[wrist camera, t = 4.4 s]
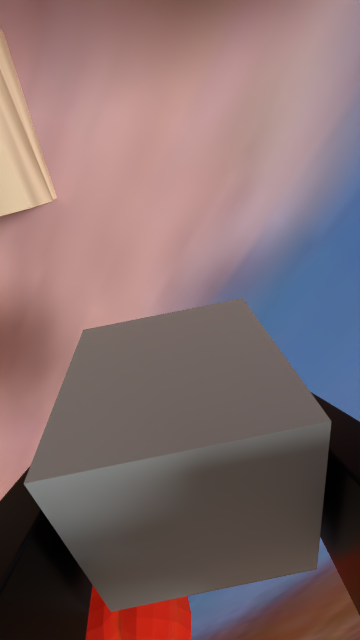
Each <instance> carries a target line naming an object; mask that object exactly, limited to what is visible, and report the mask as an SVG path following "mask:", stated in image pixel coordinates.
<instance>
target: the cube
mask: <svg viewBox="0 0 360 640" xmlns="http://www.w3.org/2000/svg"><path fill="white" fill-rule="evenodd" d="M330 430H331V420H330V419H329V417H328V416H327V414H326V413H325V412H324V410H323V409H322V408H321V406H320V405H319V403H318V402H317V401H316V399H315V398H314V397H313V395H312V394H311V392H310V391H309V390H308V388H307V387H306V385H305V384H304V383H303V381H302V380H301V379H300V377H299V376H298V374H297V373H296V372H295V370H294V369H293V368H292V366H291V365H290V363H289V362H288V361H287V359H286V358H285V356H284V355H283V354H282V352H281V351H280V350H279V348H278V347H277V345H276V344H275V343H274V341H273V340H272V339H271V337H270V336H269V334H268V333H267V332H266V330H265V329H264V327H263V326H262V325H261V323H260V322H259V321H258V319H257V318H256V316H255V315H254V314H253V312H252V311H251V310H250V308H249V307H248V305H247V304H246V303H245V301H244V300H243V298H242V299H237V300H232V301H227V302H222V303H217V304H212V305H207V306H202V307H197V308H192V309H187V310H182V311H177V312H172V313H167V314H161V315H156V316H151V317H146V318H141V319H136V320H131V321H126V322H121V323H116V324H111V325H106V326H101V327H96V328H91V329H86V330H83V332H82V335H81V337H80V340H79V343H78V345H77V348H76V350H75V353H74V355H73V358H72V361H71V363H70V366H69V368H68V371H67V373H66V376H65V379H64V381H63V384H62V386H61V389H60V391H59V394H58V397H57V399H56V402H55V404H54V407H53V409H52V412H51V415H50V417H49V420H48V422H47V425H46V427H45V430H44V433H43V435H42V438H41V440H40V443H39V445H38V448H37V451H36V453H35V456H34V458H33V461H32V463H31V466H30V469H29V471H28V474H27V476H26V479H25V482H24V485H25V486H26V488H27V489H28V491H29V492H30V494H31V495H32V497H33V498H34V500H35V501H36V503H37V504H38V505H39V507H40V508H41V510H42V511H43V513H44V514H45V516H46V517H47V519H48V520H49V522H50V523H51V525H52V526H53V527H54V529H55V530H56V532H57V533H58V535H59V536H60V538H61V539H62V541H63V542H64V544H65V545H66V546H67V548H68V549H69V551H70V552H71V554H72V555H73V557H74V558H75V560H76V561H77V563H78V564H79V565H80V567H81V568H82V570H83V571H84V573H85V574H86V576H87V577H88V579H89V580H90V582H91V583H92V585H93V586H94V587H95V589H96V590H97V592H98V593H99V595H100V596H101V598H102V599H103V601H104V602H105V604H106V605H107V606H108V608H109V609H110V611H111V612H113V611H118V610H123V609H127V608H132V607H137V606H142V605H147V604H151V603H156V602H161V601H166V600H171V599H176V598H180V597H185V596H190V595H195V594H200V593H205V592H209V591H214V590H219V589H224V588H229V587H234V586H238V585H243V584H248V583H253V582H258V581H262V580H267V579H272V578H277V577H282V576H287V575H291V574H296V573H301V572H306V571H311V570H316V569H317V562H318V552H319V541H320V531H321V521H322V511H323V501H324V491H325V481H326V471H327V461H328V450H329V440H330Z"/></svg>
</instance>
